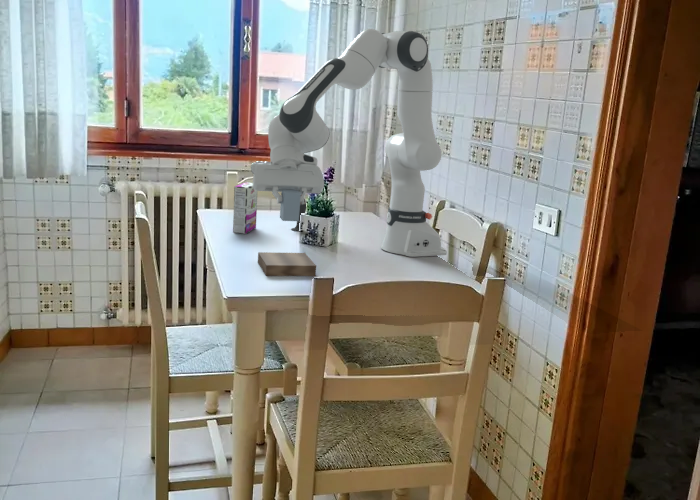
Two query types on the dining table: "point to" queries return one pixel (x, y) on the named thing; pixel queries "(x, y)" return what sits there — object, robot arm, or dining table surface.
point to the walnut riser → (286, 264)
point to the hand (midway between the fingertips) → (290, 202)
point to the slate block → (290, 205)
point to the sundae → (302, 210)
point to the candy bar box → (244, 208)
